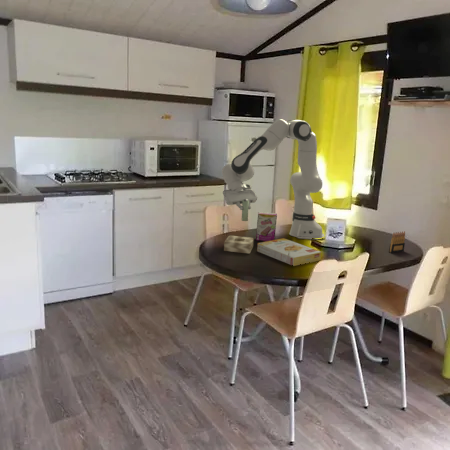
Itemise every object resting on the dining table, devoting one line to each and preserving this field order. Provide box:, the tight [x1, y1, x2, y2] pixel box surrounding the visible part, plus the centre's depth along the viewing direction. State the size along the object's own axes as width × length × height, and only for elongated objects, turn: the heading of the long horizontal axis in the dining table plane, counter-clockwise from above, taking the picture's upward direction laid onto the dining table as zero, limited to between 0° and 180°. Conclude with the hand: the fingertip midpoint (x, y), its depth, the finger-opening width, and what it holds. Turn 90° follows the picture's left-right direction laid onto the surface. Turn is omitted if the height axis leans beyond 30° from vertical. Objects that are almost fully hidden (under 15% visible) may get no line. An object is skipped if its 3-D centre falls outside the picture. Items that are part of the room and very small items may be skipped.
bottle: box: [241, 199, 249, 222], centre depth 251 cm, size 4×4×12 cm
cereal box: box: [256, 237, 322, 267], centre depth 235 cm, size 20×6×28 cm
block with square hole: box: [223, 235, 255, 254], centre depth 243 cm, size 14×14×5 cm
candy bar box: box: [255, 211, 278, 242], centre depth 261 cm, size 11×5×16 cm, turn 84°
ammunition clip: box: [388, 231, 406, 254], centre depth 255 cm, size 11×2×12 cm, turn 120°
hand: (245, 209), depth 251 cm, fingers closed on bottle, 3 cm apart
